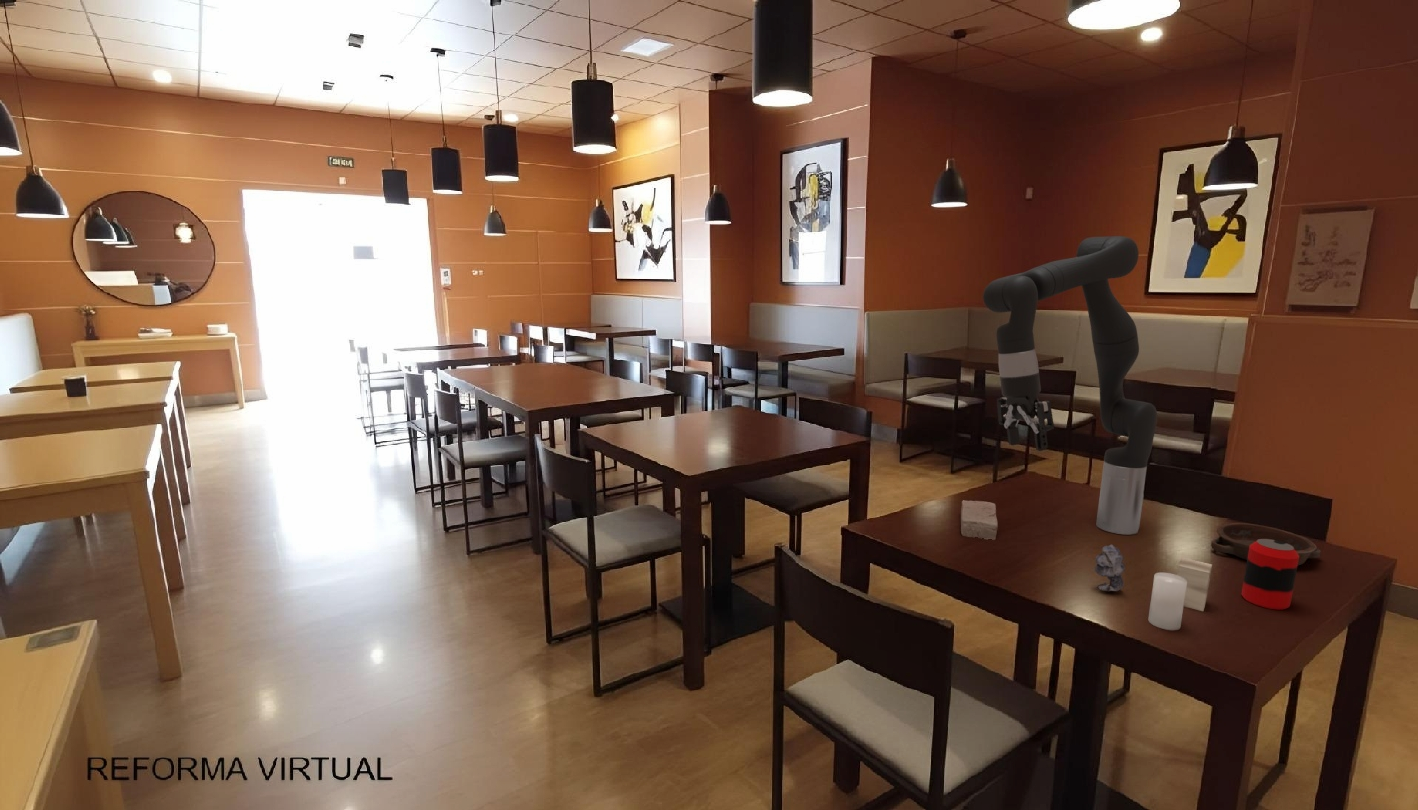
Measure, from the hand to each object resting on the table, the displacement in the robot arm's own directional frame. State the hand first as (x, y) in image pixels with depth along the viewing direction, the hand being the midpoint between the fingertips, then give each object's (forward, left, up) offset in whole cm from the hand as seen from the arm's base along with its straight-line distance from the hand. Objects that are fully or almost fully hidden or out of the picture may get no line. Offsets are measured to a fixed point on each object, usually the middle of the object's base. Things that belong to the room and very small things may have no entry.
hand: (1027, 447), depth 145 cm
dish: (-56, +23, -28) cm, 67 cm away
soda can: (-30, +34, -28) cm, 53 cm away
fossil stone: (-7, +16, -28) cm, 33 cm away
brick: (-13, -21, -28) cm, 37 cm away
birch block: (-16, +27, -28) cm, 42 cm away
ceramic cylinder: (-3, +29, -27) cm, 40 cm away
